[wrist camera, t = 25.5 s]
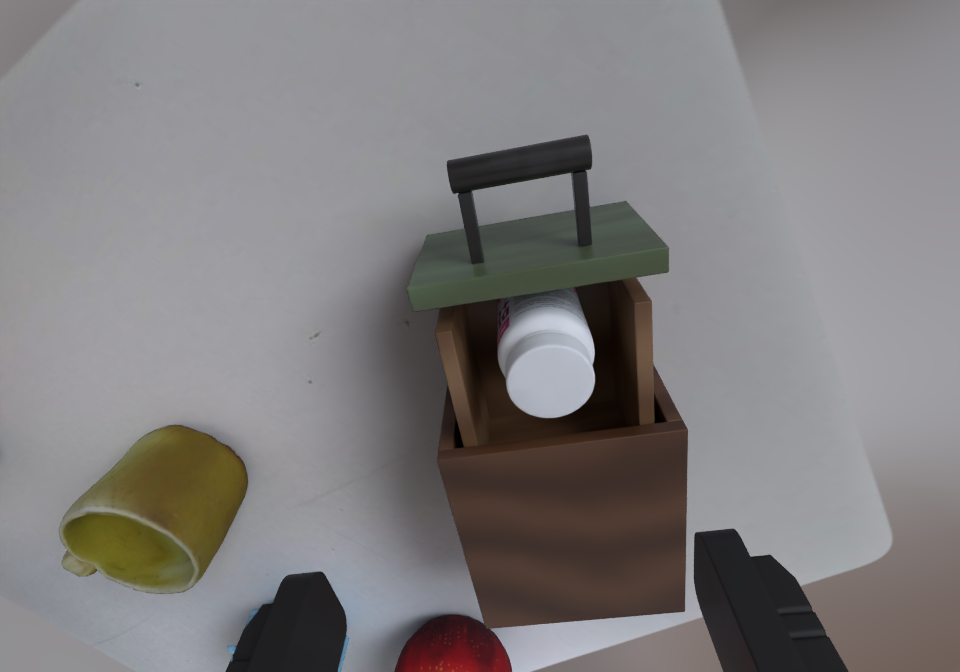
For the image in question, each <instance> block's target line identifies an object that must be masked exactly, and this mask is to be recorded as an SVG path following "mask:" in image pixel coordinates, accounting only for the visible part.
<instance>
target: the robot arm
mask: <svg viewBox="0 0 960 672" xmlns="http://www.w3.org/2000/svg"><path fill="white" fill-rule="evenodd" d="M694 584H695V590H696V595H697V599H698V602H699V606H700V609H701V612H702V615H703V617H704V620H705V623H706V625H707V628H708V631H709V634H710V636H711V639H712V642H713V644H714V647H715V650H716V653H717V655H718V658H719V661H720V663H721V666H722V669H723V671H724V672H848V670H847V668H846V666H845V665H844V663H843V661H842V660H841V658H840V656H839V654H838V652H837V651H836V649H835V647H834V645H833V644H832V642H831V640H830V638H829V637H827V635H826V633H825V630H824V628H823V626H822V624H821V622H820V621H819V619H818V617H817V615H816V613H815V612H813V611H812V607H811V605H810V603H809V601H808V600H807V598H806V596H805V594H804V592H803V591H802V589H801V587H800V585H799V583H798V582H797V580H796V578H795V577H794V576H793V575H792V574H791V573H789V572H788V571H787V570H786V569H785V568H784V567H783V566H782V565H781V564H780V563H779V562H778V561H777V560H775V559H774V558H773V557H772V556H771V555H764V556H754V557H750V555H749V553H748V551H747V549H746V547H745V545H744V543H743V541H742V539H741V537H740V535H739V534H738V532H737V531H736V530H735V529H724V530H715V531H706V532H697V533H695V537H694ZM346 631H347V623H346V615H345V612H344V609H343V607H342V605H341V604H340V602H339V600H338V598H337V596H336V594H335V592H334V591H333V589H332V587H331V585H330V583H329V581H328V579H327V578H326V576H325V574H324V573H323V572H311V573H302V574H292V575H288V576H286V577H285V578H284V579H283V581H282V582H281V584H280V586H279V589H278V591H277V594H276V596H275V599H274V602H273V604H263V605H262V606H261V608H260V609H259V610H258V612H257V613H256V614H255V615H254V617H253V618H252V619H251V621H250V622H249V623H248V624H247V626H246V627H245V628H244V630H243V633H242V635H241V637H240V640H239V642H238V644H237V647H236V649H235V651H234V654H233V660H232V662H230V663H229V665H228V668H227V670H226V672H338V668H339V664H340V660H341V656H342V652H343V648H344V644H345V639H346Z"/></svg>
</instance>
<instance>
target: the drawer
mask: <svg viewBox="0 0 960 672" xmlns="http://www.w3.org/2000/svg"><path fill="white" fill-rule="evenodd" d="M591 167H592V151H591V144H590V139H589V137H588V135H582V136H577V137H571V138H566V139H561V140H555V141H550V142H544V143H539V144H534V145H528V146H523V147H518V148H512V149H507V150H502V151H496V152H491V153H486V154H480V155H475V156H470V157H464V158H459V159H454V160H448V161H447V171H448V177H449V182H450V186H451V190H452V192H453V194H456V193H459V194H458V198H459V203H460V208H461V213H462V218H463V223H464V228H465V229H461V230H455V231H449V232H443V233H437V234H432V235H427V236H426V239H425V242H424V244H423V247H422V250H421V252H420V255H419V258H418V261H417V263H416V266H415V269H414V271H413V274H412V277H411V279H410V282H409V285H408V287H407V292H408V296H409V300H410V303H411V307H412V311H413V312H417V311H424V310H430V309H437V308H440V312H439V317H438V322H437V327H436V331H435V336H436V340H437V344H438V348H439V352H440V356H441V360H442V364H443V368H444V372H445V376H446V379H447V383H448V387H449V391H450V395H451V399H452V403H453V407H454V411H455V415H456V419H457V423H458V426H459V430H460V434H461V438H462V442H463V446H464V447H472V446H480V445H488V444H496V443H504V442H512V441H519V440H527V439H535V438H543V437H551V436H559V435H567V434H575V433H583V432H591V431H599V430H607V429H615V428H623V427H631V426H639V425H647V424H655V422H654V379H653V335H652V301H651V299H650V298H649V296H648V295H647V293H646V292H645V290H644V289H643V287H642V286H641V284H640V282H639V281H638V279H637V278H636V277H642V276H648V275H655V274H661V273H667V272H669V247H668V246H667V245H666V244H665V243H664V242H663V240H662V239H661V238H660V237H659V236H658V235H657V234H656V233H655V232H654V231H653V230H652V229H651V227H650V226H649V225H648V224H647V223H646V222H645V221H644V220H643V219H642V218H641V217H640V216H639V214H638V213H637V212H636V211H635V210H634V209H633V208H632V207H631V206H630V205H629V204H628V202H627V201H623V202H618V203H612V204H606V205H600V206H594V207H590V206H589V194H588V181H587V172H586V170H589V169H591ZM567 173H571V176H572V186H573V197H574V208H575V210H571V211H565V212H559V213H554V214H548V215H542V216H536V217H530V218H525V219H519V220H513V221H507V222H501V223H495V224H490V225H484V226H478V221H477V216H476V210H475V205H474V199H473V194H472V190H478V189H484V188H489V187H495V186H500V185H506V184H511V183H517V182H523V181H528V180H534V179H539V178H545V177H550V176H556V175H561V174H567ZM571 287H575V289H576V291H577V294H578V297H579V301H580V304H581V307H582V310H583V313H584V316H585V319H586V322H587V325H588V327H589V330H590V333H591V336H592V339H593V343H594V349H595V356H594V362H593V365H592V366H593V370H594V374H595V384H594V389H593V391H592V394H591V396H590V397H589V399H588V400H587V401H586V402H585V404H583V405H582V406H581V407H580V408H579V409H577V410H576V411H574V412H572V413H570V414H568V415H565V416H561V417H557V418H540V417H536V416H533V415H530V414H527V413H526V412H524V411H522V410H521V409H519V408H518V407H517V406H516V405H515V404H514V403H513V401H512V400H511V399H510V396H509V394H508V391H507V387H506V378H505V376H504V375H503V373H502V371H501V369H500V366H499V362H498V347H497V304H498V299H501V298H507V297H514V296H520V295H526V294H533V293H539V292H546V291H552V290H558V289H565V288H571Z"/></svg>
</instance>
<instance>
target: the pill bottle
mask: <svg viewBox="0 0 960 672" xmlns="http://www.w3.org/2000/svg"><path fill="white" fill-rule="evenodd" d="M497 347H498V362H499V366H500V369H501V371H502V373H503V375H504V376H505V378H506V387H507V391H508V394H509V396H510V399H511V400H512V401H513V403H514V404H515V405H516V406H517V407H518V408H519V409H521V410H522V411H524V412H526V413H527V414H530V415H533V416H536V417H540V418H557V417H561V416H565V415H568V414H570V413H572V412H574V411H576V410H577V409H579V408H580V407H581V406H582V405H583V404H585V402H586V401H587V400H588V399H589V397H590V396H591V394H592V391H593V389H594V384H595V374H594V370H593V366H592V365H593V362H594V356H595V349H594V343H593V339H592V336H591V333H590V330H589V327H588V325H587V322H586V319H585V316H584V313H583V310H582V307H581V304H580V301H579V297H578V294H577V291H576V289H575V287H571V288H565V289H558V290H552V291H546V292H539V293H533V294H526V295H520V296H514V297H507V298H501V299H498V304H497Z"/></svg>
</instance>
